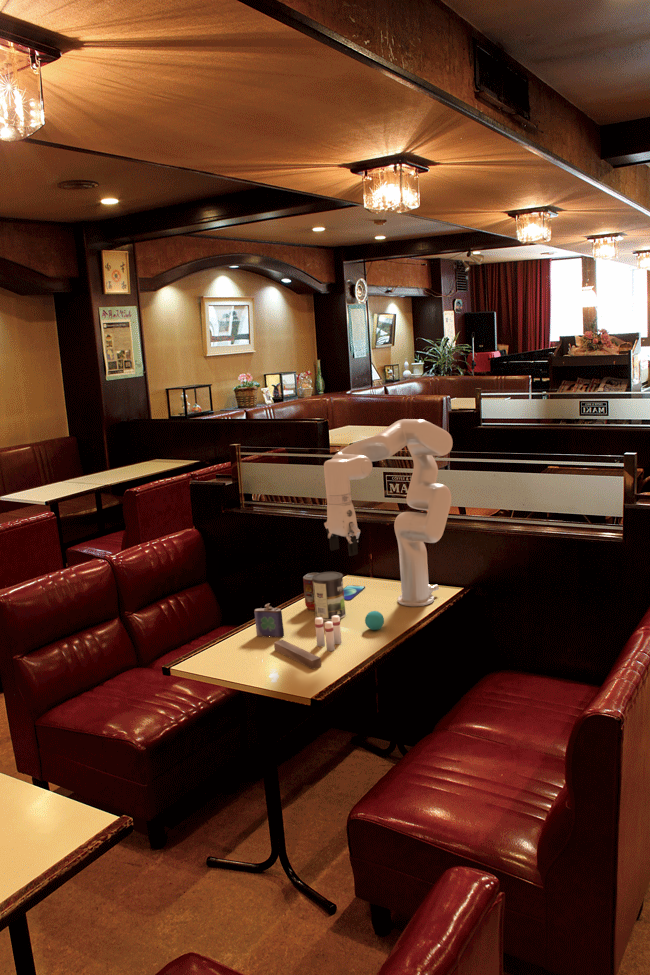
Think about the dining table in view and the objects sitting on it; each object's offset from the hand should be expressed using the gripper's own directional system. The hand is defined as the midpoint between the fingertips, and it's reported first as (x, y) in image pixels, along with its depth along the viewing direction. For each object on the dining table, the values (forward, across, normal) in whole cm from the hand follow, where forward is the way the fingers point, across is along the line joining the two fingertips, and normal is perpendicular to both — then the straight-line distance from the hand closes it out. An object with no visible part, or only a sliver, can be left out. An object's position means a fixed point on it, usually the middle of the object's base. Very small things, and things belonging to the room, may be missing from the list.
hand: (344, 552), depth 233 cm
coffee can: (+26, +15, -3) cm, 30 cm away
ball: (+23, -6, -5) cm, 24 cm away
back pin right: (+25, -3, +14) cm, 29 cm away
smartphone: (+27, +30, -22) cm, 46 cm away
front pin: (+26, -6, +10) cm, 28 cm away
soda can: (+26, +25, -4) cm, 37 cm away
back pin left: (+25, -8, +14) cm, 30 cm away
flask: (+26, +15, +21) cm, 36 cm away
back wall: (+25, -6, +25) cm, 36 cm away
